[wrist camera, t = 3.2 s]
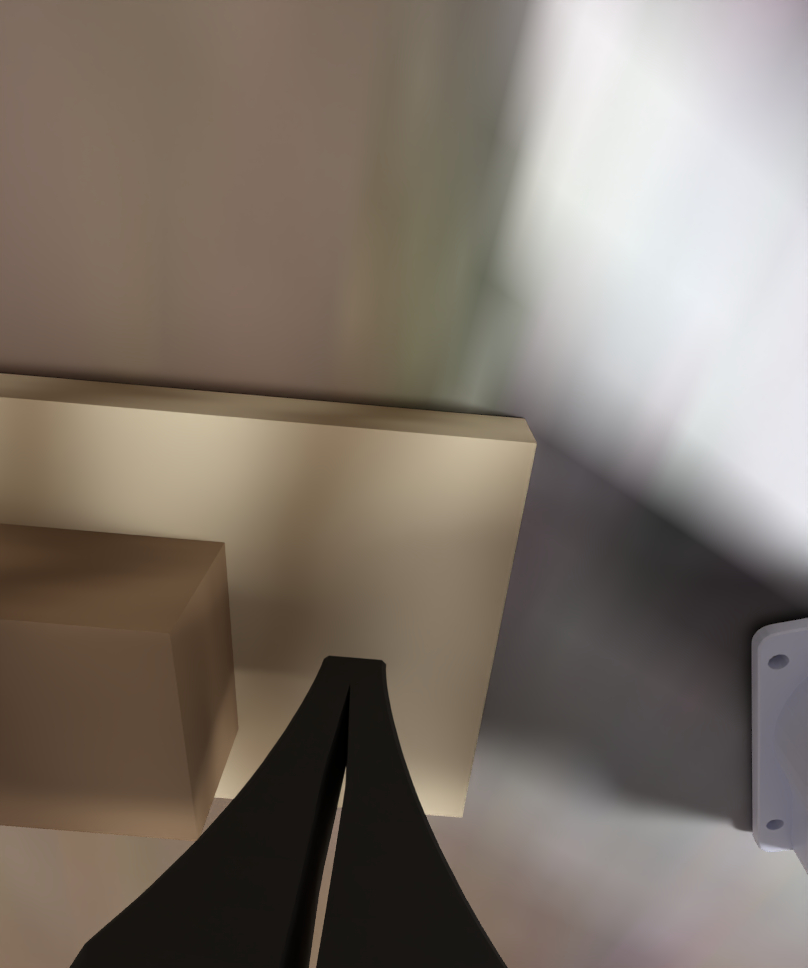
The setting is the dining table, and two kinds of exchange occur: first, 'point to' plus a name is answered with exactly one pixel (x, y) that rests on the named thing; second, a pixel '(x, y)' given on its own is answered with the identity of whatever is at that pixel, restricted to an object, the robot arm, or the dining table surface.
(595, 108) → the dining table surface
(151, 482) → the board
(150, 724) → the tan cardboard box
